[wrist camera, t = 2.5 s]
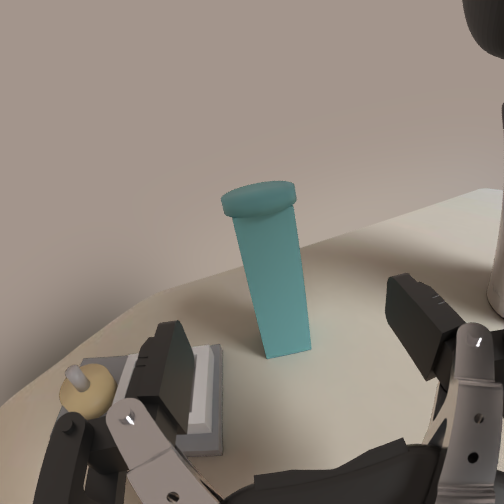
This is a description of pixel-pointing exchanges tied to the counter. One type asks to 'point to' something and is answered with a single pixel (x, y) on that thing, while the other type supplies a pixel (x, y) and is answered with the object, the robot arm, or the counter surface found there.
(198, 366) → the housing
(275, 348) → the lidded tumbler
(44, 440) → the counter surface
